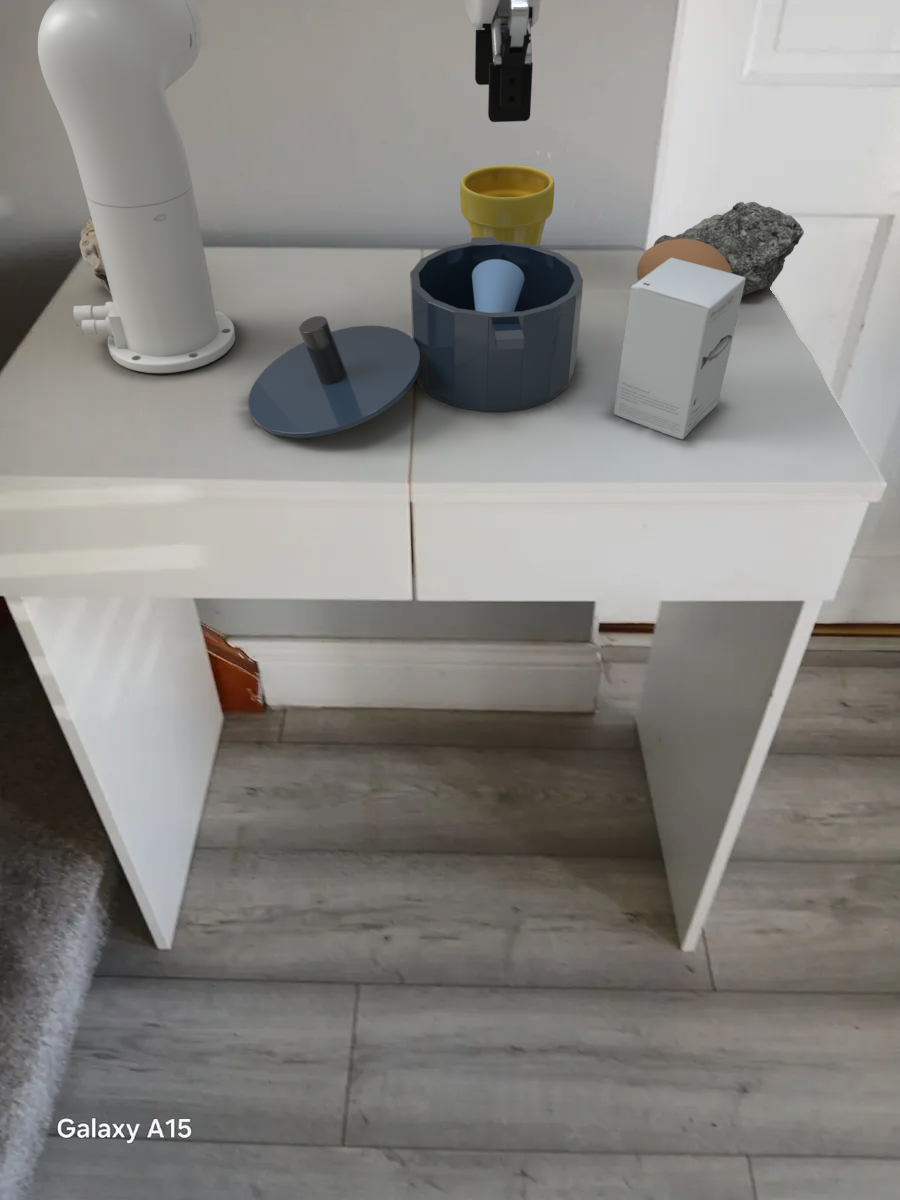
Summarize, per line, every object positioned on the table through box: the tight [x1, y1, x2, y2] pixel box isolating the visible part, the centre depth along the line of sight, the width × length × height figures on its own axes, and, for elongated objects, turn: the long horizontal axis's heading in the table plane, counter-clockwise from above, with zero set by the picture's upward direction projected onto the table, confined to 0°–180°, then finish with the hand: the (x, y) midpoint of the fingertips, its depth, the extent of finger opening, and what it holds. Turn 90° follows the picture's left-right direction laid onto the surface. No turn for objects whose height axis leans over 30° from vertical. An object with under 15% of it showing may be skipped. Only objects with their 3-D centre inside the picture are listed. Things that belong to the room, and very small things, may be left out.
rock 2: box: [652, 201, 805, 297], centre depth 107 cm, size 13×13×10 cm
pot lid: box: [247, 315, 421, 439], centre depth 87 cm, size 17×17×7 cm
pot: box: [409, 237, 584, 413], centre depth 91 cm, size 16×21×10 cm
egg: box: [636, 238, 732, 282], centre depth 101 cm, size 8×8×11 cm
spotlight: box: [472, 259, 524, 313], centre depth 91 cm, size 5×10×7 cm
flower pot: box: [459, 164, 555, 247], centre depth 108 cm, size 10×10×10 cm
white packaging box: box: [612, 258, 746, 440], centre depth 84 cm, size 7×7×13 cm
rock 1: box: [79, 215, 111, 294], centre depth 107 cm, size 9×7×10 cm
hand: (501, 101), depth 78 cm, fingers open, 9 cm apart
